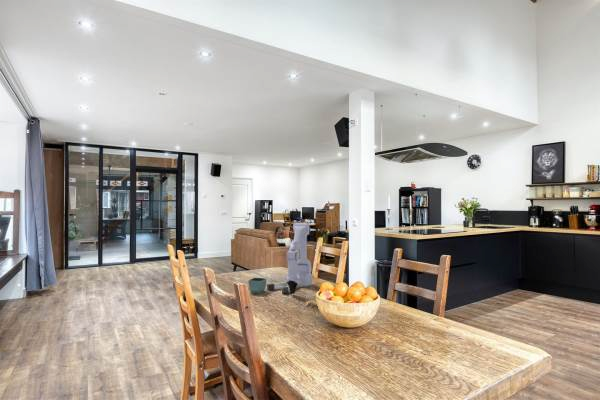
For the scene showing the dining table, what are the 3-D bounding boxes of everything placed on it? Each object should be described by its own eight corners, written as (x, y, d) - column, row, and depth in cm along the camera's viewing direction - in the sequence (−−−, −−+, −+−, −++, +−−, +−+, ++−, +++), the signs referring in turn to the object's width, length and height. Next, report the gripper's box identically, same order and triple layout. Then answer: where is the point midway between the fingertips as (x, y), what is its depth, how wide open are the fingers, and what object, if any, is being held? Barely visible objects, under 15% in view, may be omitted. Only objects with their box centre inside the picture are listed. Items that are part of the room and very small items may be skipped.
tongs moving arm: (294, 287, 220) (294, 281, 220) (297, 287, 219) (297, 282, 219) (281, 293, 203) (282, 287, 203) (285, 294, 202) (285, 288, 202)
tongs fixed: (298, 285, 226) (298, 278, 226) (302, 286, 222) (302, 279, 222) (267, 290, 212) (267, 282, 212) (270, 291, 208) (270, 284, 208)
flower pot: (247, 295, 205) (247, 280, 205) (253, 291, 214) (254, 277, 214) (261, 296, 203) (261, 281, 203) (266, 292, 211) (266, 278, 211)
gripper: (280, 269, 205) (280, 291, 204) (293, 273, 193) (293, 297, 192) (290, 268, 208) (290, 290, 208) (303, 272, 196) (303, 295, 196)
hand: (292, 293), depth 201 cm, fingers closed
